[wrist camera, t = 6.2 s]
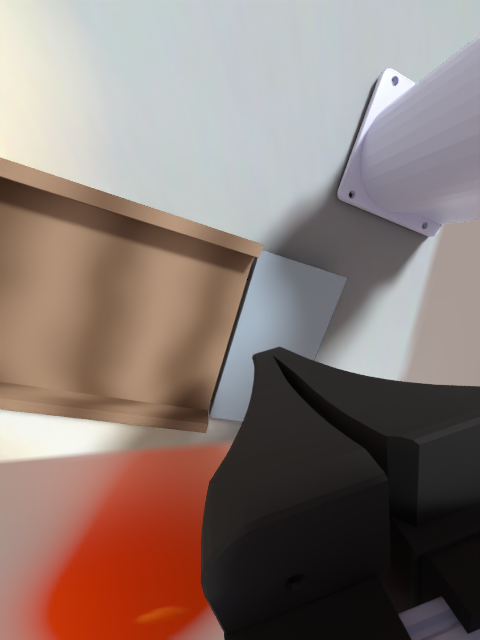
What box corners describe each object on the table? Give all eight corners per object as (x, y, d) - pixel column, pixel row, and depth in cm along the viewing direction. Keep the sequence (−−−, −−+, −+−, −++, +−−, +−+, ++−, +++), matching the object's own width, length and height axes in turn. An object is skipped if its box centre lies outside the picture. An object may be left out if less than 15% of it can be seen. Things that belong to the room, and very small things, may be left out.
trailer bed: (250, 245, 17) (270, 244, 12) (204, 403, 20) (206, 449, 16) (-5, 162, 13) (-117, 114, 9) (-11, 371, 17) (-94, 419, 12)
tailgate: (255, 249, 17) (336, 275, 18) (208, 406, 20) (281, 416, 21) (260, 249, 15) (347, 277, 17) (209, 417, 19) (286, 427, 20)
